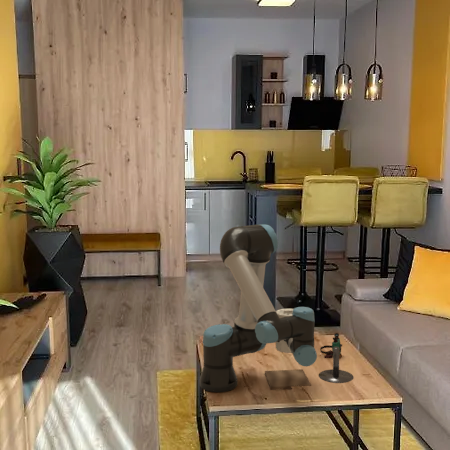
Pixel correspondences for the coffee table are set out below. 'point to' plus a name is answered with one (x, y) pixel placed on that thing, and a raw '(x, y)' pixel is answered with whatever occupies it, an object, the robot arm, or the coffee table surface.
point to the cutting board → (286, 379)
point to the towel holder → (336, 371)
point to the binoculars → (334, 344)
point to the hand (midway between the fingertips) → (286, 324)
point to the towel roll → (282, 344)
